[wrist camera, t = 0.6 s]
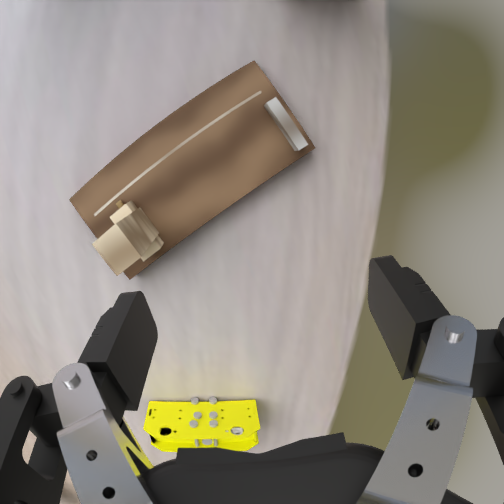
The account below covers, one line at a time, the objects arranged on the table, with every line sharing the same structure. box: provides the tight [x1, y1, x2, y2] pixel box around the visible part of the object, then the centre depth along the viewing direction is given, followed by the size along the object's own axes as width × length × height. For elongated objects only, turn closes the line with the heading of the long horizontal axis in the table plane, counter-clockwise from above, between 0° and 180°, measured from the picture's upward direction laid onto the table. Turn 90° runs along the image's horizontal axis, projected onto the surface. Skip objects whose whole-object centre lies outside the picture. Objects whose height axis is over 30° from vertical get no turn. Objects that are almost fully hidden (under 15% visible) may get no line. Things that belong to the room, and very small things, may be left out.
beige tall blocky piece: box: [92, 200, 164, 276], centre depth 30 cm, size 7×3×9 cm, turn 34°
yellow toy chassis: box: [143, 397, 260, 452], centre depth 41 cm, size 16×6×8 cm, turn 90°
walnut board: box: [69, 61, 315, 279], centre depth 33 cm, size 12×26×4 cm, turn 124°
